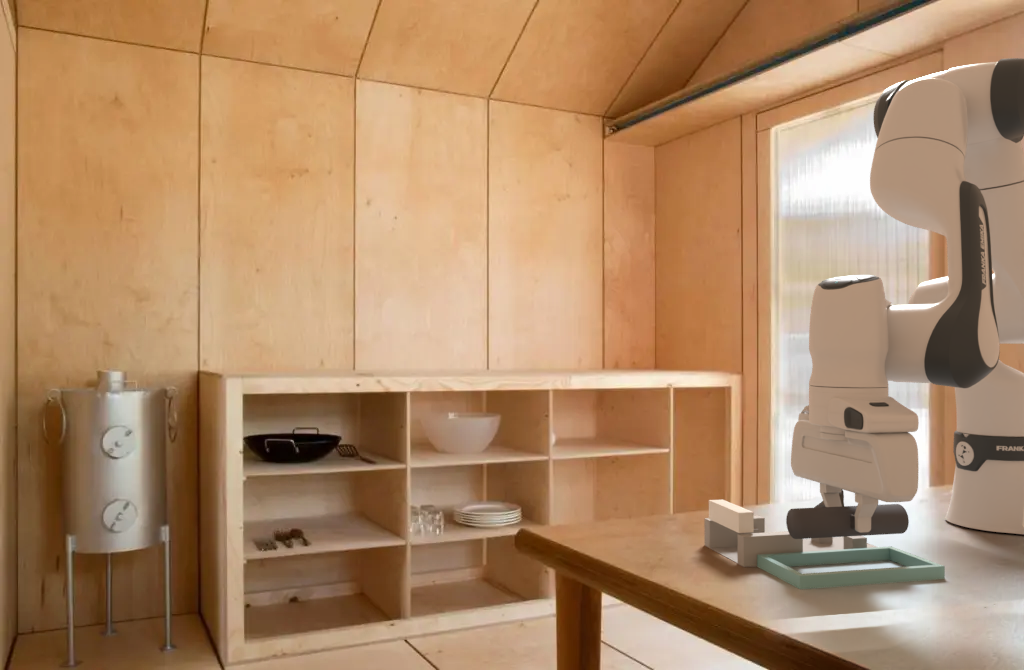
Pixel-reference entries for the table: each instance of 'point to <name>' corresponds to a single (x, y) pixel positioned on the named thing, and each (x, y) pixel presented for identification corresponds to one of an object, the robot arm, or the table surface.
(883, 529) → the dark grey cylinder
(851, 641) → the table surface
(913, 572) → the tray
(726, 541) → the cradle
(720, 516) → the cream square beam
